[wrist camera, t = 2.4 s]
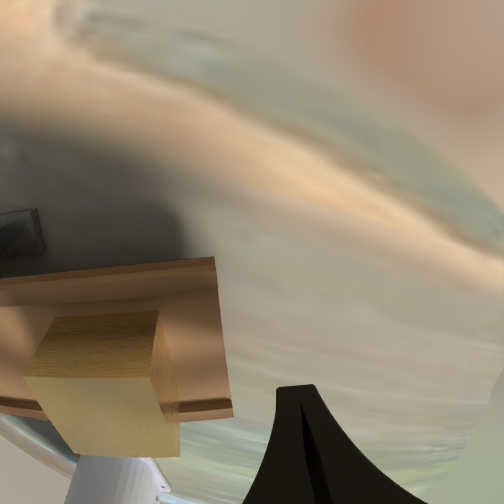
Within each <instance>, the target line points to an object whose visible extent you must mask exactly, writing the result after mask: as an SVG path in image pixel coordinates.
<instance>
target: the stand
mask: <svg viewBox="0 0 504 504" xmlns="http://www.w3.org/2000/svg"><path fill="white" fill-rule="evenodd" d="M43 251H45V247H44V242H43V238H42V234H41V230H40V225H39V221H38V216H37V211H36V209H30V210H24V211H18V212H13V213H7V214H2V215H0V257H6V256H21V255H36V254H41V253H42V252H43ZM35 419H38V418H35ZM38 420H42V421H46V422H48V420H47V419H38Z"/></svg>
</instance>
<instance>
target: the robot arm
mask: <svg viewBox="0 0 504 504" xmlns="http://www.w3.org/2000/svg"><path fill="white" fill-rule="evenodd" d="M80 455H81V454H80ZM170 491H171V488H170V487H169V485H168V484H167V482H166V480H165V479H164V477H163V475H162V474H161V472H160V470H159V469H158V467H157V465H156V464H155V462H154V460H153V458H131V457H106V456H92V455H81V456H80V458H79V461H78V464H77V467H76V470H75V472H74V475H73V478H72V481H71V484H70V487H69V490H68V493H67V496H66V499H65V502H64V504H159V503H160V497H161V492H170ZM242 504H427V503H426V502H424V501H422V500H420V499H419V498H417V497H415V496H414V495H412V494H411V493H409V492H408V491H406V490H405V489H403V488H402V487H400V486H399V485H398V484H396V483H395V482H394V481H393V480H391V479H390V478H389V477H387V476H386V475H385V474H384V473H382V472H381V471H380V470H379V469H378V468H377V467H376V466H375V465H374V464H373V463H372V462H370V461H369V460H368V459H367V458H366V457H365V456H364V454H363V453H362V452H361V451H360V450H359V449H358V448H357V447H356V446H355V444H354V443H353V442H352V441H351V440H350V439H349V437H348V436H347V435H346V434H345V432H344V431H343V430H342V428H341V427H340V426H339V424H338V423H337V421H336V420H335V419H334V417H333V416H332V414H331V413H330V411H329V410H328V408H327V406H326V405H325V403H324V401H323V400H322V398H321V396H320V394H319V393H318V391H317V389H316V387H315V385H313V384H309V385H298V386H286V387H279V388H277V389H276V413H275V419H274V423H273V428H272V432H271V436H270V440H269V443H268V446H267V449H266V452H265V455H264V458H263V461H262V463H261V466H260V468H259V471H258V473H257V475H256V478H255V480H254V482H253V484H252V486H251V488H250V490H249V492H248V494H247V496H246V498H245V500H244V501H243V503H242Z"/></svg>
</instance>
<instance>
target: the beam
mask: <svg viewBox="0 0 504 504" xmlns="http://www.w3.org/2000/svg"><path fill="white" fill-rule="evenodd" d="M154 310H159V314H160V318H161V323H162V327H163V331H164V335H165V340H166V344H167V348H168V352H169V356H170V360H171V363H172V367H173V371H174V375H175V378H176V382H177V385H178V389H179V422H190V421H202V420H212V419H222V418H230V417H234V415H233V408H232V402H231V395H230V388H229V380H228V373H227V365H226V357H225V349H224V341H223V332H222V324H221V315H220V306H219V297H218V285H217V275H216V267H215V260H214V256H212V257H203V258H193V259H184V260H174V261H164V262H155V263H145V264H135V265H126V266H116V267H106V268H97V269H87V270H77V271H67V272H58V273H48V274H38V275H29V276H19V277H9V278H0V413H5V414H11V415H17V416H23V417H31V418H38V419H47V420H49V418H48V417H47V415H46V414H45V412H44V411H43V409H42V408H41V406H40V404H39V403H38V401H37V400H36V398H35V397H34V395H33V393H32V392H31V390H30V388H29V387H28V385H27V383H26V381H25V380H24V378H23V374H24V372H25V370H26V368H27V366H28V364H29V362H30V361H31V359H32V357H33V355H34V353H35V351H36V350H37V348H38V346H39V344H40V342H41V341H42V339H43V337H44V335H45V334H46V332H47V330H48V329H49V327H50V325H51V324H52V322H53V320H54V319H55V317H68V316H86V315H102V314H116V313H129V312H142V311H154Z"/></svg>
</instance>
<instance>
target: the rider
mask: <svg viewBox="0 0 504 504" xmlns="http://www.w3.org/2000/svg"><path fill="white" fill-rule="evenodd" d="M23 378H24V380H25V381H26V383H27V385H28V387H29V388H30V390H31V392H32V393H33V395H34V397H35V398H36V400H37V401H38V403H39V404H40V406H41V408H42V409H43V411H44V412H45V414H46V415H47V417H48V418H49V420H50V421H51V422H52V424H53V425H54V427H55V428H56V430H57V431H58V432H59V434H60V435H61V436H62V438H63V439H64V441H65V442H66V443H67V444H68V446H69V447H70V448H71V450H72V451H73V452H74V453H75V454H81V455H92V456H106V457H131V458H161V457H180V422H179V389H178V385H177V382H176V378H175V375H174V371H173V367H172V363H171V360H170V356H169V352H168V348H167V344H166V340H165V335H164V331H163V327H162V323H161V318H160V314H159V310H154V311H142V312H129V313H116V314H102V315H86V316H68V317H55V319H54V320H53V322H52V324H51V325H50V327H49V329H48V330H47V332H46V334H45V335H44V337H43V339H42V341H41V342H40V344H39V346H38V348H37V350H36V351H35V353H34V355H33V357H32V359H31V361H30V362H29V364H28V366H27V368H26V370H25V372H24V374H23Z"/></svg>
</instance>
